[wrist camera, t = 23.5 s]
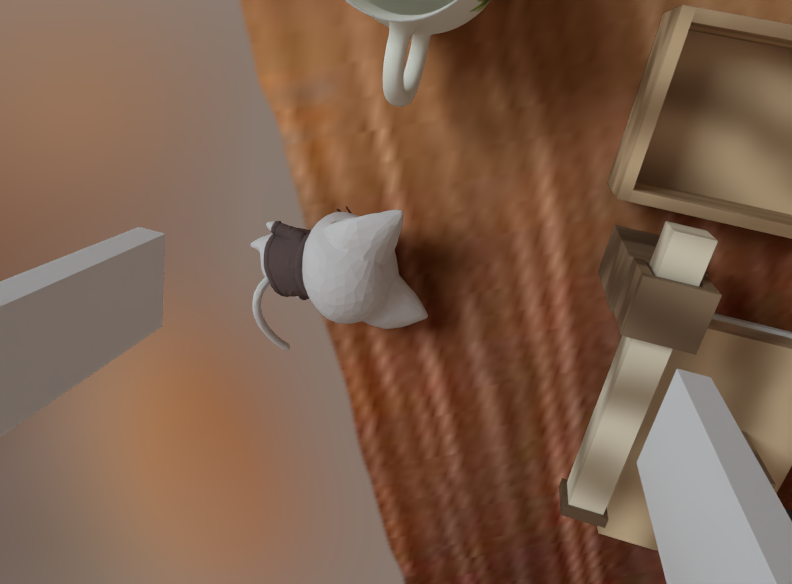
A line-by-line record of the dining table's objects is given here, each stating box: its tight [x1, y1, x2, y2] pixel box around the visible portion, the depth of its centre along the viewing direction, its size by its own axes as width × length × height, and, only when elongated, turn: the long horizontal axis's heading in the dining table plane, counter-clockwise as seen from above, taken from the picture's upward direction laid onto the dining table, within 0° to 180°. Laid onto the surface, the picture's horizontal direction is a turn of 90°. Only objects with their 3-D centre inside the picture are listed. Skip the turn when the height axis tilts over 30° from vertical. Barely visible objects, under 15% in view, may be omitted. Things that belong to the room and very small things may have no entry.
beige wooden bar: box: [559, 221, 718, 528], centre depth 40 cm, size 22×3×3 cm, turn 169°
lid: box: [597, 319, 792, 551], centre depth 46 cm, size 12×21×9 cm, turn 170°
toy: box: [251, 206, 428, 351], centre depth 49 cm, size 13×9×15 cm
